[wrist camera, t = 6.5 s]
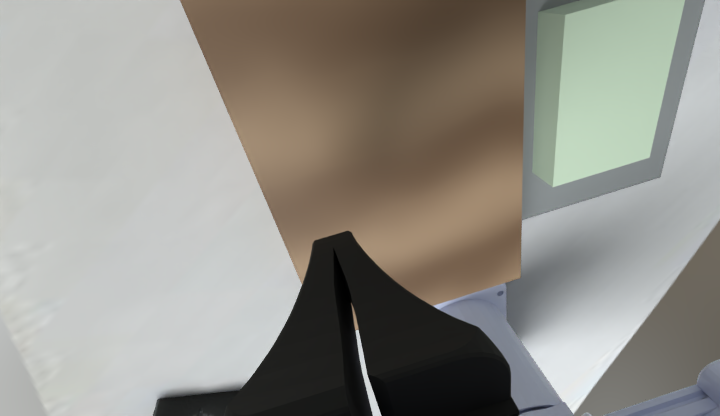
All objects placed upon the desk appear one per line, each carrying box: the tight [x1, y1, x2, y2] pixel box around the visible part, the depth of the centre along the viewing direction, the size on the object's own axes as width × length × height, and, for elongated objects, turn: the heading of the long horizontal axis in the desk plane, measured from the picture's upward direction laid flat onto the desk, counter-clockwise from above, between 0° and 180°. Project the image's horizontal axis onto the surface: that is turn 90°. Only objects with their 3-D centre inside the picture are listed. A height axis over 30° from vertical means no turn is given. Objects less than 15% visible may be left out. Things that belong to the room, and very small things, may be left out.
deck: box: [180, 0, 526, 330], centre depth 19 cm, size 18×12×4 cm, turn 12°
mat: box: [522, 0, 705, 220], centre depth 21 cm, size 16×12×1 cm
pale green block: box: [532, 0, 685, 187], centre depth 20 cm, size 9×6×2 cm, turn 12°
